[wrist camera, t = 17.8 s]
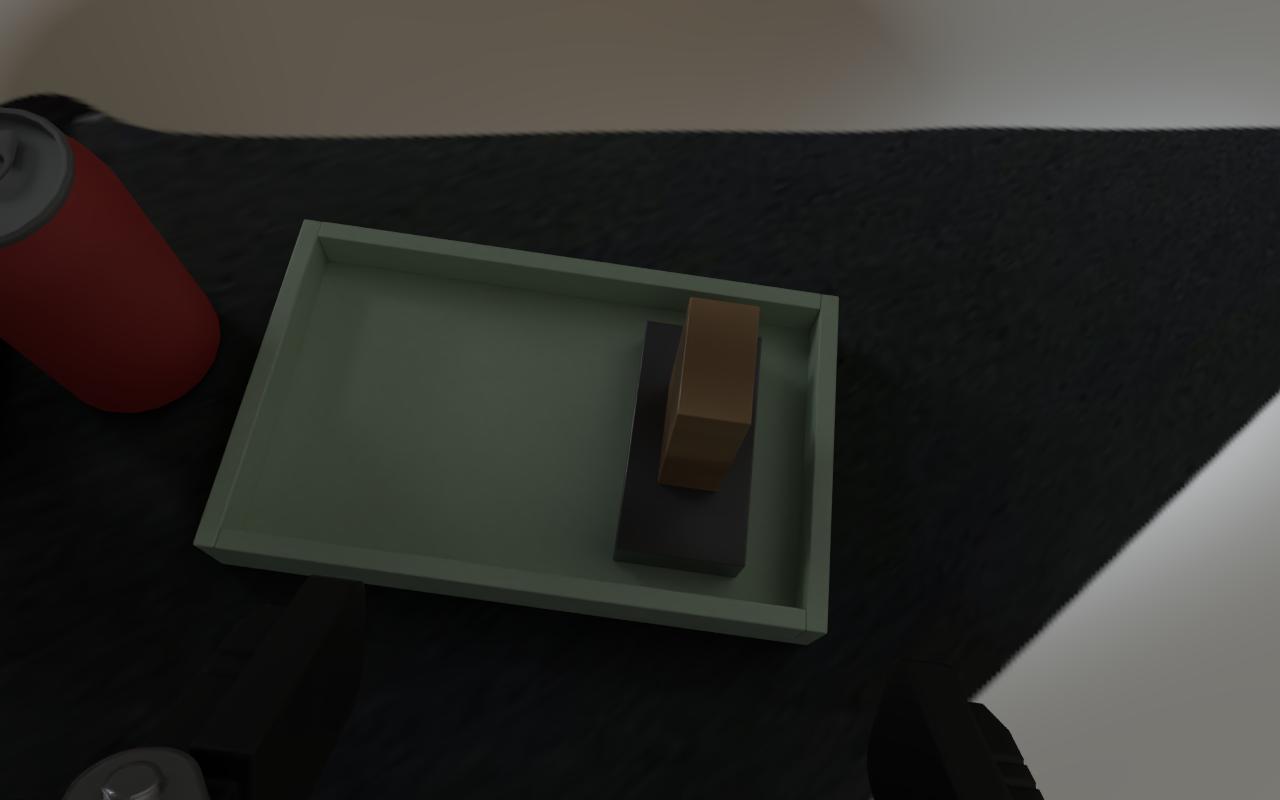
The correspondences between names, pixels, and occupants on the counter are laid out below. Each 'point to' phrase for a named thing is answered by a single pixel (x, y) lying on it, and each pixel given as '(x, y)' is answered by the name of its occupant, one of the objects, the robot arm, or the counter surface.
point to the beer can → (93, 277)
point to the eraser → (692, 442)
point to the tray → (509, 433)
